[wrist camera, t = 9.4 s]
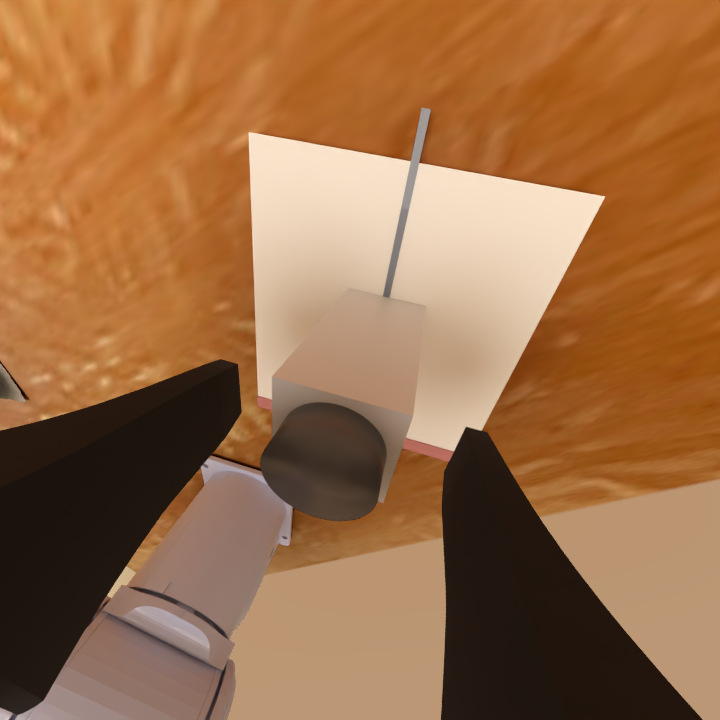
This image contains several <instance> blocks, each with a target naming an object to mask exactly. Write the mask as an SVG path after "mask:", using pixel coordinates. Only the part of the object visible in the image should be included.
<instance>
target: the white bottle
mask: <svg viewBox="0 0 720 720" xmlns="http://www.w3.org/2000/svg"><path fill="white" fill-rule="evenodd" d="M425 312H426V306H422V305H417V304H413V303H409V302H405V301H400V300H396V299H392V298H388V297H383V296H379V295H375V294H371V293H366V292H362V291H358V290H354V289H349V288H348V289H347V290H346V292H345V293H344V294H343V295H342V296H341V297H340V298H339V300H338V301H337V302H336V303H335V304H334V305H333V307H332V308H331V309H330V310H329V311H328V312H327V314H326V315H325V316H324V317H323V318H322V319H321V320H320V322H319V323H318V324H317V325H316V326H315V327H314V329H313V330H312V331H311V332H310V333H309V334H308V335H307V337H306V338H305V339H304V340H303V341H302V342H301V344H300V345H299V346H298V347H297V348H296V349H295V350H294V352H293V353H292V354H291V355H290V356H289V357H288V359H287V360H286V361H285V362H284V363H283V364H282V365H281V367H280V368H279V369H278V370H277V371H276V372H275V374H274V375H273V376H272V439H271V441H270V442H269V444H268V445H267V447H266V448H265V450H264V452H263V454H262V456H261V461H260V466H261V471H262V475H263V477H264V479H265V481H266V483H267V484H268V486H269V487H270V488H271V490H272V491H273V492H274V493H275V494H276V495H277V496H278V497H279V498H281V499H282V500H283V501H284V502H286V503H287V504H288V505H290V506H292V507H293V508H295V509H297V510H299V511H301V512H303V513H305V514H308V515H310V516H313V517H317V518H320V519H325V520H331V521H349V520H355V519H358V518H361V517H363V516H365V515H367V514H368V513H370V512H371V511H372V510H373V509H374V507H375V506H376V504H377V502H381V503H383V502H384V499H385V496H386V493H387V491H388V488H389V485H390V482H391V479H392V476H393V473H394V470H395V467H396V464H397V462H398V459H399V456H400V453H401V450H402V447H403V444H404V441H405V438H406V435H407V433H408V430H409V427H410V424H411V421H412V418H413V414H414V405H415V397H416V388H417V380H418V371H419V363H420V354H421V346H422V338H423V329H424V321H425Z"/></svg>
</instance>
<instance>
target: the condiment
mask: <svg viewBox="0 0 720 720" xmlns="http://www.w3.org/2000/svg"><path fill="white" fill-rule="evenodd" d="M0 398H4V399H12V400H16V401H22V402H26V401H25V399H24V398H23V396H22V395H21V391H20V390H19V389H18V387H17V386H16V384H15V383H14V382H13V381H12V379H11V377H10V375H9V374H8V372H7V371H6V370H5V369H4V367H3V366H2V365H1V364H0Z"/></svg>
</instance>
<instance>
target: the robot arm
mask: <svg viewBox="0 0 720 720" xmlns="http://www.w3.org/2000/svg"><path fill="white" fill-rule="evenodd" d="M240 414H241V398H240V385H239V372H238V364H236V363H232V362H228V361H225V360H221V359H220V360H217V361H214V362H211V363H208V364H205V365H202V366H200V367H197V368H195V369H192V370H189V371H187V372H184V373H182V374H179V375H177V376H174V377H171V378H169V379H166V380H164V381H161V382H158V383H156V384H153V385H151V386H148V387H145V388H143V389H140V390H137V391H134V392H131V393H128V394H125V395H123V396H120V397H117V398H114V399H111V400H108V401H105V402H103V403H100V404H97V405H93V406H90V407H87V408H84V409H81V410H77V411H74V412H71V413H67V414H64V415H60V416H57V417H53V418H49V419H46V420H42V421H39V422H35V423H31V424H27V425H23V426H18V427H14V428H10V429H6V430H2V431H0V720H227V718H228V715H229V712H230V708H231V705H232V701H233V697H234V692H235V685H236V681H235V665H234V662H233V661H232V660H230V659H228V658H229V656H230V654H231V652H232V649H233V647H234V645H235V644H234V642H232V641H230V640H229V639H230V637H231V635H232V633H233V631H234V630H235V629H236V628H237V627H238V626H239V625H240V623H241V622H242V620H243V619H244V618H245V616H246V614H247V612H248V610H249V608H250V606H251V604H252V601H253V599H254V597H255V595H256V592H257V590H258V588H259V586H260V584H261V581H262V579H263V577H264V575H265V573H266V570H267V568H268V566H269V564H270V561H271V559H272V557H273V555H274V552H275V550H276V548H277V546H278V544H281V545H284V546H288V545H289V544H290V542H291V531H292V515H293V507H292V506H290V505H288V504H287V503H286V502H284V501H283V500H282V499H281V498H279V497H278V496H277V495H276V494H275V493H274V492H273V491H272V490H271V488H270V487H269V486H268V484H267V483H266V481H265V479H264V477H263V475H262V471H258V470H255V469H252V468H249V467H246V466H243V465H239V464H236V463H233V462H230V461H227V460H224V459H220V458H217V457H214V456H211V455H212V453H213V452H214V451H215V450H216V449H217V447H218V446H219V445H220V444H221V442H222V441H223V440H224V439H225V437H226V436H227V434H228V433H229V431H230V430H231V428H232V427H233V425H234V424H235V422H236V420H237V419H238V417H239V416H240ZM200 468H201V470H202V475H203V479H204V484H205V485H204V487H203V488H202V489H201V491H200V492H199V493H198V494H197V496H196V497H195V498H194V500H193V501H192V502H191V503H190V505H189V506H188V507H187V509H186V510H185V511H184V512H183V514H182V515H181V516H180V518H179V519H178V520H177V521H176V523H175V524H174V525H173V527H172V528H171V529H170V530H169V532H168V533H167V534H166V536H165V537H164V538H163V539H162V541H161V542H160V543H159V545H158V546H157V547H156V548H155V550H154V551H153V552H152V554H151V555H150V556H149V557H148V559H147V560H146V561H145V563H144V564H143V565H142V566H141V568H140V569H139V570H138V572H137V573H136V574H135V575H134V577H133V578H132V579H131V581H130V582H129V583H128V585H127V586H125V585H122V586H121V587H120V588H119V589H118V591H117V592H116V593H115V594H114V596H113V597H112V598H110V597H108V596H107V594H108V593H109V591H110V590H111V588H112V586H113V585H114V583H115V582H116V580H117V579H118V577H119V576H120V574H121V573H122V571H123V570H124V568H125V567H126V565H127V564H128V562H129V561H130V559H131V558H132V556H133V555H134V553H135V552H136V550H137V549H138V547H139V546H140V545H141V543H142V542H143V540H144V539H145V537H146V536H147V535H148V533H149V532H150V530H151V529H152V528H153V526H154V525H155V523H156V522H157V520H158V519H159V518H160V516H161V515H162V513H163V512H164V511H165V510H166V508H167V507H168V506H169V504H170V503H171V502H172V501H173V499H174V498H175V497H176V496H177V495H178V493H179V492H180V491H181V490H182V489H183V488H184V486H185V485H186V484H187V483H188V482H189V481H190V479H191V478H192V477H193V476H194V475H195V473H196V472H197V471H198V470H199V469H200ZM442 520H443V541H444V562H445V582H446V628H445V655H444V675H443V694H442V712H441V720H702V719H701V718H700V716H699V715H698V714H697V713H696V712H695V711H694V710H693V709H692V707H691V706H690V705H689V704H688V703H687V702H686V701H685V700H684V699H683V698H682V696H681V695H680V694H679V693H678V692H677V691H676V690H675V689H674V687H673V686H672V685H671V684H670V683H669V682H668V681H667V679H666V678H665V677H664V676H663V675H662V674H661V672H660V671H659V670H658V669H657V668H656V667H655V665H654V664H653V663H652V662H651V661H650V660H649V659H648V657H647V656H646V655H645V654H644V653H643V651H642V650H641V649H640V648H639V647H638V646H637V645H636V643H635V642H634V641H633V640H632V639H631V637H630V636H629V635H628V634H627V633H626V632H625V631H624V629H623V628H622V627H621V626H620V624H619V623H618V622H617V621H616V620H615V618H614V617H613V616H612V615H611V613H610V612H609V611H608V610H607V609H606V607H605V606H604V605H603V604H602V602H601V601H600V600H599V598H598V597H597V596H596V595H595V593H594V592H593V591H592V589H591V588H590V587H589V585H588V584H587V583H586V582H585V580H584V579H583V578H582V577H581V575H580V574H579V573H578V571H577V570H576V569H575V567H574V566H573V565H572V563H571V562H570V561H569V559H568V558H567V556H566V555H565V554H564V552H563V551H562V550H561V548H560V547H559V545H558V544H557V542H556V541H555V540H554V538H553V537H552V535H551V534H550V533H549V531H548V530H547V528H546V527H545V525H544V524H543V522H542V521H541V519H540V518H539V516H538V515H537V513H536V512H535V510H534V509H533V507H532V506H531V504H530V502H529V501H528V499H527V498H526V496H525V495H524V493H523V491H522V490H521V488H520V487H519V485H518V483H517V482H516V480H515V478H514V477H513V475H512V473H511V472H510V470H509V468H508V467H507V465H506V463H505V462H504V460H503V458H502V457H501V455H500V453H499V451H498V450H497V448H496V446H495V445H494V443H493V441H492V439H491V438H490V436H489V434H488V433H487V432H484V431H480V430H477V429H473V428H469V427H466V428H465V430H464V432H463V434H462V436H461V438H460V440H459V442H458V444H457V446H456V448H455V450H454V452H453V455H452V457H451V459H450V461H449V463H448V465H447V467H446V469H445V471H444V482H443V495H442Z"/></svg>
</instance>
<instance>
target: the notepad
mask: <svg viewBox="0 0 720 720" xmlns="http://www.w3.org/2000/svg"><path fill="white" fill-rule="evenodd" d="M430 111H431V109H427V108H422V110H421V115H420V120H419V124H418V129H417V134H416V139H415V144H414V149H413V153H412V158H411V161H406V160H400V159H395V158H389V157H384V156H378V155H373V154H367V153H362V152H356V151H351V150H345V149H340V148H334V147H328V146H323V145H317V144H312V143H306V142H301V141H295V140H290V139H284V138H279V137H273V136H268V135H262V134H257V133H251V132H249V156H250V183H251V211H252V239H253V267H254V295H255V323H256V351H257V379H258V396H257V402H258V407H262V408H265V409H269V410H272V376H273V375H274V374H275V372H276V371H277V370H278V369H279V368H280V367H281V365H282V364H283V363H284V362H285V361H286V360H287V359H288V357H289V356H290V355H291V354H292V353H293V352H294V350H295V349H296V348H297V347H298V346H299V345H300V344H301V342H302V341H303V340H304V339H305V338H306V337H307V335H308V334H309V333H310V332H311V331H312V330H313V329H314V327H315V326H316V325H317V324H318V323H319V322H320V320H321V319H322V318H323V317H324V316H325V315H326V314H327V312H328V311H329V310H330V309H331V308H332V307H333V305H334V304H335V303H336V302H337V301H338V300H339V298H340V297H341V296H342V295H343V294H344V293H345V292H346V290H347V289H348V288H349V289H354V290H358V291H362V292H366V293H371V294H375V295H379V296H383V297H388V298H392V299H396V300H400V301H405V302H409V303H413V304H417V305H422V306H426V312H425V321H424V329H423V338H422V346H421V354H420V363H419V371H418V380H417V388H416V397H415V405H414V414H413V418H412V421H411V424H410V427H409V430H408V433H407V435H406V438H405V441H404V444H403V447H402V448H403V449H407V450H410V451H414V452H417V453H421V454H424V455H427V456H431V457H434V458H438V459H441V460H445V461H448V462H449V461H450V459H451V457H452V455H453V452H454V450H455V448H456V446H457V444H458V442H459V440H460V438H461V436H462V434H463V432H464V430H465V428H466V427H469V428H473V429H477V430H480V431H482V429H483V427H484V425H485V423H486V421H487V419H488V417H489V416H490V414H491V412H492V410H493V408H494V406H495V404H496V402H497V400H498V398H499V397H500V395H501V393H502V391H503V389H504V387H505V385H506V383H507V381H508V380H509V378H510V376H511V374H512V372H513V370H514V368H515V366H516V364H517V363H518V361H519V359H520V357H521V355H522V353H523V351H524V349H525V347H526V345H527V344H528V342H529V340H530V338H531V336H532V334H533V332H534V330H535V328H536V327H537V325H538V323H539V321H540V319H541V317H542V315H543V313H544V311H545V310H546V308H547V306H548V304H549V302H550V300H551V298H552V296H553V294H554V293H555V291H556V289H557V287H558V285H559V283H560V281H561V279H562V277H563V275H564V274H565V272H566V270H567V268H568V266H569V264H570V262H571V260H572V258H573V257H574V255H575V253H576V251H577V249H578V247H579V245H580V243H581V241H582V240H583V238H584V236H585V234H586V232H587V230H588V228H589V226H590V224H591V222H592V221H593V219H594V217H595V215H596V213H597V211H598V209H599V207H600V205H601V204H602V202H603V200H604V198H605V196H599V195H594V194H588V193H583V192H577V191H572V190H566V189H560V188H555V187H549V186H544V185H538V184H533V183H527V182H522V181H516V180H511V179H505V178H500V177H494V176H489V175H483V174H478V173H472V172H467V171H461V170H456V169H450V168H444V167H439V166H433V165H428V164H422V163H419V161H420V157H421V152H422V148H423V143H424V139H425V134H426V130H427V125H428V121H429V116H430Z"/></svg>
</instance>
